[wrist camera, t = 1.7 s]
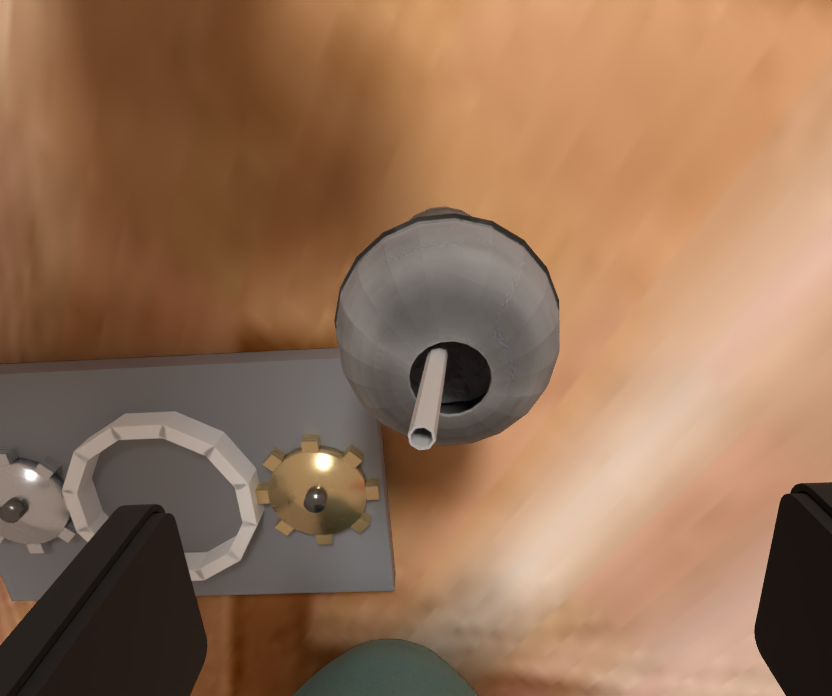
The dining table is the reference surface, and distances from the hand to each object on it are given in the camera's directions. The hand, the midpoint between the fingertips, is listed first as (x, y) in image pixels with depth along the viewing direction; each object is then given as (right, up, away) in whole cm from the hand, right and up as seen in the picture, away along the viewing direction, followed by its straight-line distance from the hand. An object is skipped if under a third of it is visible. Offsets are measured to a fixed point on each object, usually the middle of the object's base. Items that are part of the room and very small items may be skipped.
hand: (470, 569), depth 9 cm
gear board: (-15, -4, +26) cm, 30 cm away
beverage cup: (0, +8, +20) cm, 22 cm away
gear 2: (-6, -5, +24) cm, 25 cm away
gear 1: (-24, -5, +25) cm, 35 cm away
